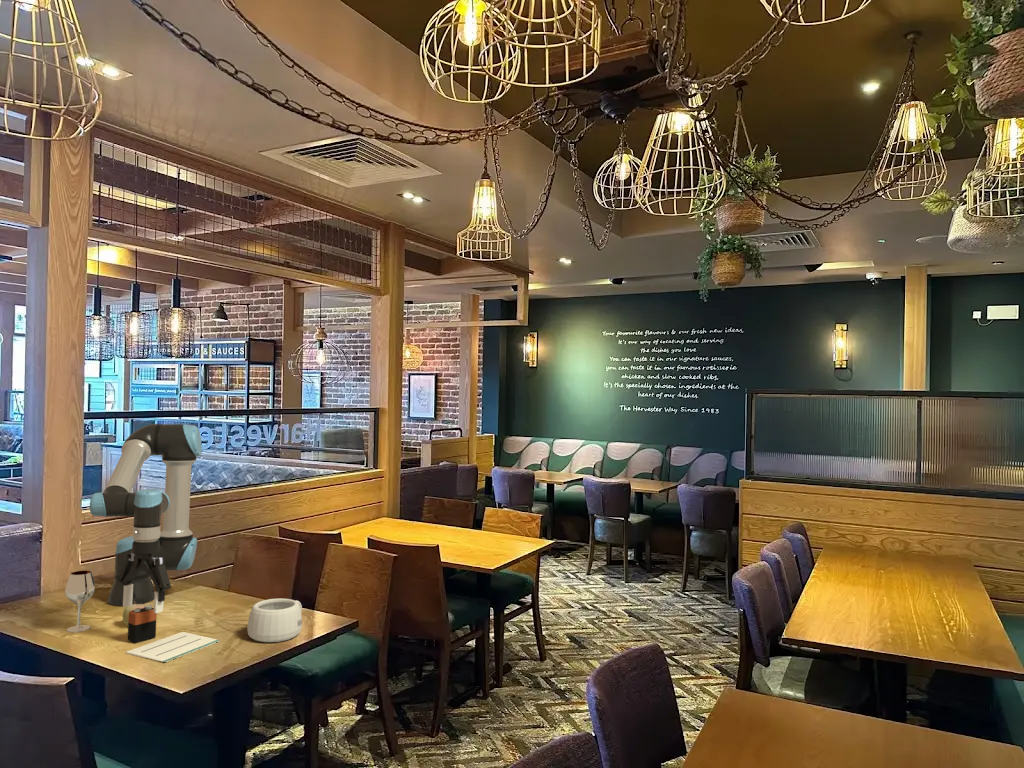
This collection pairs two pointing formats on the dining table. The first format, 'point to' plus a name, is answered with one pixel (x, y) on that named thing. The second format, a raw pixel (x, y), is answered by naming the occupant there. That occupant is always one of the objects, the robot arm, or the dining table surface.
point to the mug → (275, 620)
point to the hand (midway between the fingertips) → (142, 609)
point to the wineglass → (79, 594)
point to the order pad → (172, 647)
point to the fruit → (130, 608)
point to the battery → (142, 624)
